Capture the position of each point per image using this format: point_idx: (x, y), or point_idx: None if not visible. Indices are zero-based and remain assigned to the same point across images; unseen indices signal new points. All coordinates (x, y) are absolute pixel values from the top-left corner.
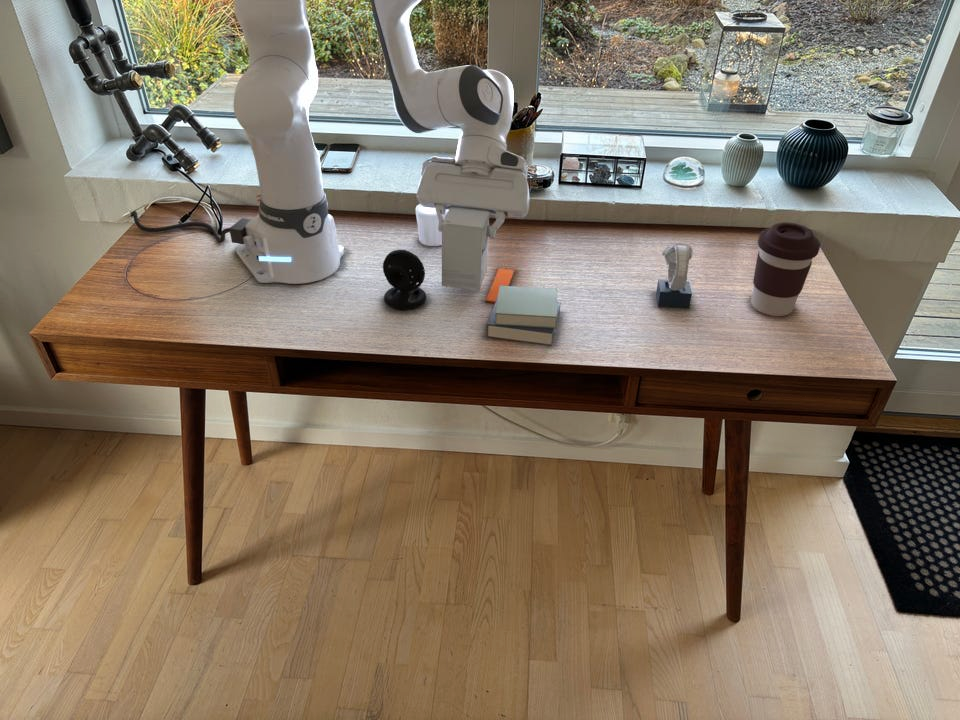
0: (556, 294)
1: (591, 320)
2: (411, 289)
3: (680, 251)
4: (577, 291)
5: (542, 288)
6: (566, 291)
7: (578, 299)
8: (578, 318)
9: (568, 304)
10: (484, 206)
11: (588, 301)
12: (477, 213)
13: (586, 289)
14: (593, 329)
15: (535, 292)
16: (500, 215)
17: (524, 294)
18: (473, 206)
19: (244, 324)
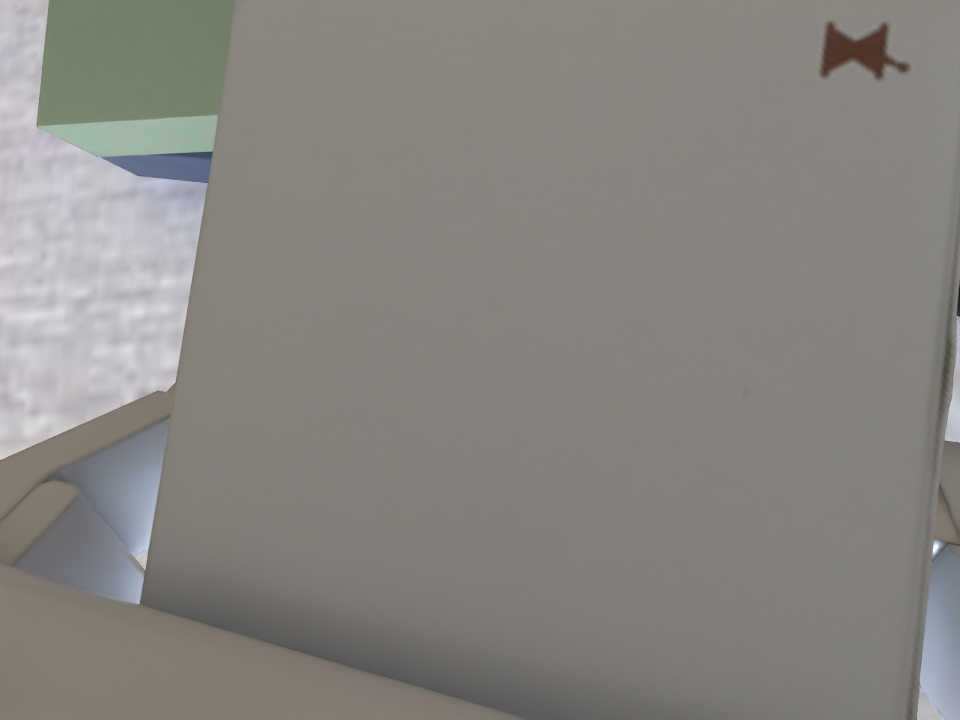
0: (44, 67)
1: (26, 150)
2: None
3: None
4: (51, 384)
5: (106, 117)
6: (95, 380)
7: (55, 313)
8: (71, 157)
9: (97, 265)
10: (127, 624)
11: (19, 300)
12: (311, 486)
13: (15, 405)
14: (28, 85)
15: (143, 68)
16: (2, 495)
17: (199, 34)
18: (355, 670)
19: None
